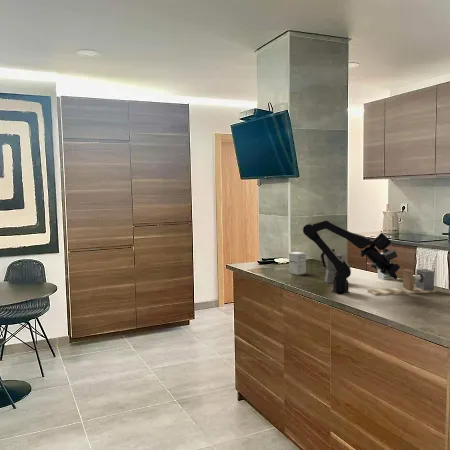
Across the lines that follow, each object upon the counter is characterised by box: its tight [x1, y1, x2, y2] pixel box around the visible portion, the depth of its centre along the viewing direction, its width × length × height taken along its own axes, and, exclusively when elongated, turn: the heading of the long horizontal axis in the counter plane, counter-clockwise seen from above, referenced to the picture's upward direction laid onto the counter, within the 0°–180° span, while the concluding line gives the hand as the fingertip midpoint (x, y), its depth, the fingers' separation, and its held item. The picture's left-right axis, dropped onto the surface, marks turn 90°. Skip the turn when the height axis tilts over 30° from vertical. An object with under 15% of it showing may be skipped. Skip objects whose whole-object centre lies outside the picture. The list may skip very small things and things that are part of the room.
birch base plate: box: [367, 286, 436, 296], centre depth 216 cm, size 30×8×1 cm, turn 97°
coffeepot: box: [320, 248, 343, 284], centre depth 243 cm, size 15×9×18 cm, turn 33°
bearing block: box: [415, 268, 435, 291], centre depth 217 cm, size 5×7×9 cm
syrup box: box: [377, 251, 393, 280], centre depth 248 cm, size 6×6×14 cm
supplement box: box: [288, 251, 307, 276], centre depth 268 cm, size 7×7×13 cm
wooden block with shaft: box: [402, 268, 423, 290], centre depth 217 cm, size 12×6×9 cm, turn 97°
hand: (396, 278), depth 216 cm, fingers closed
